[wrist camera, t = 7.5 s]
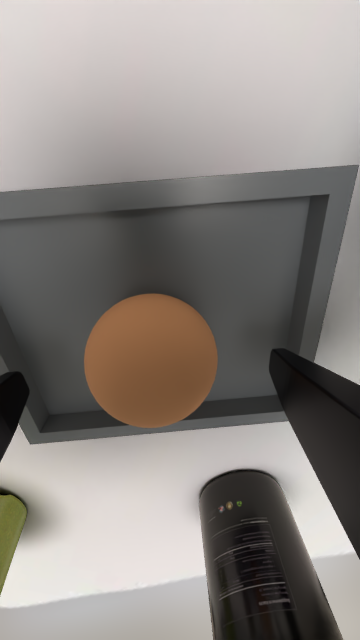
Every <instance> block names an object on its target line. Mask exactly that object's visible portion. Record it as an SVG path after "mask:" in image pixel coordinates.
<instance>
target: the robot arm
mask: <svg viewBox="0 0 360 640" xmlns="http://www.w3.org/2000/svg"><path fill="white" fill-rule="evenodd" d="M269 373H270V376H271V379H272V381H273V384H274V387H275V389H276V392H277V395H278V397H279V400H280V403H281V405H282V408H283V410H284V412H285V414H286V416H287V418H288V420H289V422H290V424H291V426H292V428H293V430H294V432H295V434H296V436H297V438H298V440H299V442H300V444H301V446H302V448H303V450H304V452H305V454H306V456H307V458H308V459H309V461H310V463H311V465H312V467H313V469H314V471H315V473H316V475H317V477H318V479H319V481H320V483H321V485H322V487H323V489H324V491H325V493H326V495H327V497H328V499H329V501H330V502H331V504H332V506H333V508H334V510H335V512H336V514H337V516H338V518H339V520H340V522H341V524H342V526H343V528H344V530H345V532H346V534H347V536H348V538H349V540H350V542H351V543H352V545H353V547H354V549H355V551H356V553H357V555H358V557H359V559H360V385H358V384H356V383H354V382H352V381H350V380H348V379H346V378H344V377H342V376H340V375H338V374H336V373H334V372H332V371H330V370H328V369H326V368H324V367H321V366H319V365H317V364H315V363H313V362H311V361H309V360H307V359H305V358H303V357H301V356H299V355H297V354H295V353H293V352H291V351H289V350H287V349H285V348H275V349H272V350H271V353H270V360H269ZM29 394H30V389H29V386H28V384H27V382H26V380H25V378H24V376H23V374H22V373H21V372H20V371H13V372H6V373H4V374H2V375H1V376H0V462H1V460H2V458H3V456H4V454H5V452H6V450H7V448H8V446H9V444H10V442H11V440H12V438H13V435H14V433H15V431H16V428H17V426H18V423H19V421H20V418H21V415H22V413H23V410H24V408H25V405H26V402H27V400H28V397H29Z"/></svg>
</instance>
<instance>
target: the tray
mask: <svg viewBox="0 0 360 640" xmlns="http://www.w3.org/2000/svg"><path fill="white" fill-rule="evenodd" d="M358 167H359V165H350V166H337V167H324V168H310V169H297V170H284V171H271V172H258V173H245V174H232V175H218V176H205V177H192V178H179V179H166V180H153V181H140V182H126V183H113V184H100V185H87V186H74V187H61V188H47V189H34V190H21V191H8V192H0V376H1V375H2V374H4V373H6V372H13V371H20V372H21V373H22V374H23V376H24V378H25V380H26V382H27V384H28V386H29V389H30V394H29V397H28V400H27V402H26V405H25V408H24V410H23V413H22V415H21V418H20V421H19V425H20V427H21V428H22V430H23V432H24V434H25V436H26V438H27V440H28V441H29V443H30V444H41V443H52V442H63V441H74V440H85V439H96V438H107V437H118V436H129V435H140V434H151V433H162V432H173V431H184V430H195V429H206V428H217V427H228V426H239V425H251V424H262V423H273V422H284V421H289V420H288V418H287V416H286V414H285V412H284V410H283V408H282V405H281V403H280V400H279V397H278V395H277V392H276V389H275V387H274V384H273V381H272V379H271V376H270V373H269V360H270V353H271V350H272V349H275V348H285V349H287V350H289V351H291V352H293V353H295V354H297V355H299V356H301V357H303V358H305V359H307V360H309V361H311V362H313V363H314V359H315V355H316V350H317V346H318V342H319V337H320V333H321V328H322V324H323V320H324V315H325V311H326V307H327V302H328V298H329V294H330V289H331V285H332V281H333V276H334V272H335V267H336V263H337V259H338V254H339V250H340V246H341V241H342V237H343V233H344V228H345V224H346V220H347V215H348V211H349V206H350V202H351V198H352V193H353V189H354V185H355V180H356V176H357V172H358ZM153 293H155V294H164V295H168V296H172V297H174V298H177V299H180V300H182V301H183V302H185V303H187V304H189V305H190V306H191V307H193V308H194V309H195V310H196V311H197V312H198V313H199V314H200V315H201V316H202V317H203V318H204V320H205V321H206V322H207V324H208V326H209V327H210V329H211V331H212V334H213V336H214V339H215V343H216V347H217V356H218V364H217V372H216V376H215V380H214V383H213V385H212V388H211V390H210V392H209V394H208V395H207V397H206V398H205V400H204V401H203V402H202V403H201V405H200V406H199V407H198V408H197V409H196V410H195V411H194V412H192V413H191V414H190V415H188V416H187V417H186V418H184V419H182V420H180V421H178V422H176V423H173V424H171V425H167V426H163V427H158V428H141V427H136V426H132V425H129V424H126V423H123V422H121V421H119V420H117V419H115V418H114V417H112V416H111V415H110V414H108V413H107V412H106V411H105V410H104V409H103V408H102V407H101V406H100V405H99V404H98V402H97V401H96V399H95V398H94V396H93V394H92V393H91V391H90V389H89V386H88V383H87V380H86V376H85V369H84V355H85V348H86V344H87V340H88V338H89V335H90V333H91V331H92V329H93V327H94V326H95V324H96V323H97V321H98V320H99V319H100V317H101V316H102V315H103V314H104V313H105V312H106V311H107V310H109V309H110V308H111V307H112V306H114V305H115V304H117V303H119V302H120V301H122V300H124V299H127V298H129V297H133V296H136V295H141V294H153Z"/></svg>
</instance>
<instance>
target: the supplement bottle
mask: <svg viewBox="0 0 360 640" xmlns="http://www.w3.org/2000/svg"><path fill="white" fill-rule="evenodd" d="M199 509H200V519H201V529H202V539H203V548H204V557H205V567H206V576H207V585H208V594H209V604H210V613H211V622H212V632H213V640H343V638H342V635H341V633H340V630H339V628H338V625H337V623H336V621H335V618H334V616H333V613H332V611H331V608H330V606H329V603H328V601H327V598H326V596H325V593H324V591H323V589H322V586H321V584H320V581H319V579H318V576H317V574H316V571H315V569H314V566H313V564H312V562H311V559H310V557H309V554H308V552H307V549H306V547H305V544H304V542H303V539H302V537H301V535H300V532H299V530H298V527H297V525H296V522H295V520H294V517H293V515H292V512H291V510H290V508H289V505H288V503H287V501H286V498H285V496H284V493H283V491H282V489H281V487H280V486H279V484H278V483H277V482H276V481H275V480H274V479H273V478H271V477H270V476H268V475H266V474H263V473H260V472H255V471H238V472H232V473H228V474H225V475H223V476H220V477H218V478H216V479H215V480H213V481H212V482H211V483H209V484H208V485H207V486H206V488H205V489H204V490H203V492H202V494H201V497H200V501H199Z"/></svg>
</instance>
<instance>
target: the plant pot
mask: <svg viewBox="0 0 360 640" xmlns="http://www.w3.org/2000/svg"><path fill="white" fill-rule="evenodd" d="M26 516H27V510H26V508H25V506H24V504H23V503H22V502H21V501H20V500H19V499H17V498H16V497H14V496H12V495H5V496H3V495H0V595H1V592H2V589H3V586H4V582H5V579H6V576H7V573H8V570H9V567H10V564H11V561H12V558H13V555H14V552H15V549H16V546H17V544H18V541H19V538H20V535H21V532H22V529H23V526H24V523H25V520H26Z"/></svg>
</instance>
